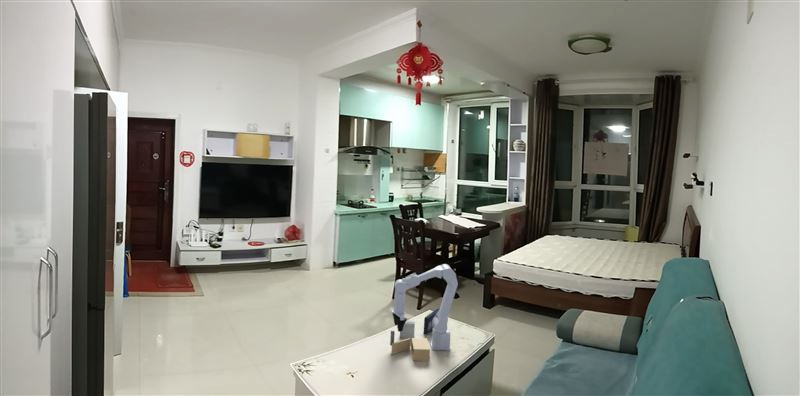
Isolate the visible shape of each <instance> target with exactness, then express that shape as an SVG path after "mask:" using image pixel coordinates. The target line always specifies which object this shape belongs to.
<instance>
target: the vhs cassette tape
mask: <svg viewBox="0 0 800 396" xmlns="http://www.w3.org/2000/svg"><path fill="white" fill-rule="evenodd" d="M439 309H440V307H438V308H436V309H435V310H433V311H432V312H431V313H429V314H428V315H426V316H425V317H424V320H423V334H424V335H429V334H430V333H433V328H434V324H433V322H432V321H433V318H434V317H435V316H436V313H437V312H438V311H439Z"/></svg>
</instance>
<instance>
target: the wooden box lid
mask: <svg viewBox="0 0 800 396" xmlns="http://www.w3.org/2000/svg"><path fill="white" fill-rule="evenodd" d="M395 333H396V332H395V330H390V340H389V341H390V342H389V345H390V346H391V351H390V352H391V353H390V354H391V355H396V354H398V353H401V352H404V351H408V350H411V340H412V339H411V338H404V339H402V340H399V341H396V342H395V335H396V334H395Z"/></svg>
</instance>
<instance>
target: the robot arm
mask: <svg viewBox="0 0 800 396" xmlns="http://www.w3.org/2000/svg"><path fill="white" fill-rule="evenodd" d="M432 278H438V279H442V278H443V280H444V281H446V283H447V285H446V287H445V290H444V293H443V297H442V300H441V303H440V307H439V308H440V309H439V311H438V312H437V313H436V316H435V317H434V318H433V321H432V322H433V324H434V328H433V331H432V332H431V333H432V335H431V336H432V337H431V339H432V340H431V341H430V342H429V343H430V347H431V348H430V349H431V350H433V351H450V349H451V348H450V347H451V331H450V330H448V321H449V312H450V310H451V307H452V304H453V300H454V298H455V295H456V292H457V289H458V285H459V283H458V279H457V273H456V272H455V271H454V270H453V269H452V268H451V266H450V264H447V263H442V264H440V265H437V266H435V267H434V268H431V269H430V270H427V271H425V272H422V273H421V274H412V273H411V274H410V276H407V277H405V278H404V277H403V278H402V279H397V280H396V281H394V284H393V287H394V295H393V296H394V298H393V299H394V300H393V310H391V314H392V317H393V323H394V326H396V327H397V332H398V333H400V332H401V331H402V330H403V327H404V324H405V322H406V321H408V319H407V318H406V317H405V314H406V309H405V308H406V292H407V290H409V289H412V288H415V287H416V286H419V285H420V283H421V282H423V281H427V280H429V279H432Z"/></svg>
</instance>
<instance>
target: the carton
mask: <svg viewBox="0 0 800 396" xmlns="http://www.w3.org/2000/svg"><path fill="white" fill-rule="evenodd" d="M410 351H411V356H412V361H414V362H415V361H416V362H430V358H431V357H430V356H431V354H430V353H431V348H430V345H429V341H428V338H427V337H425V338H424V337H420V338H419V337H414V338H412V339H411V340H410Z"/></svg>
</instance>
